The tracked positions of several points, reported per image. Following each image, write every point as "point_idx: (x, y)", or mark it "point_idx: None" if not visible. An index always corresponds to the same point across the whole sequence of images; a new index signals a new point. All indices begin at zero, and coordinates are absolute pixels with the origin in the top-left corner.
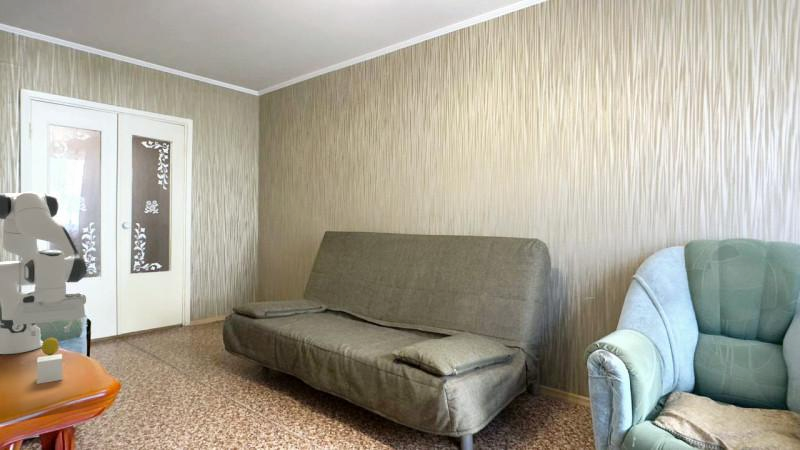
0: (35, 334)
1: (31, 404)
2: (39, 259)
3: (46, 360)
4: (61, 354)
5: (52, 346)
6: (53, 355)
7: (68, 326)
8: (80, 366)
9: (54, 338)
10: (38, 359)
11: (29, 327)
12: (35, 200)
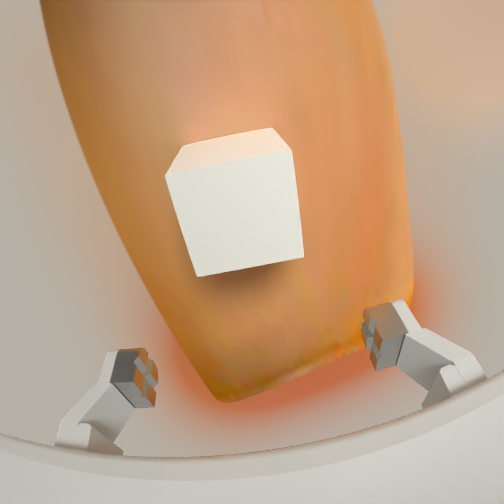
0: (156, 380)
1: (241, 368)
2: None
3: (234, 263)
4: (291, 167)
5: None
6: (248, 171)
7: (408, 369)
8: (333, 38)
9: None
10: (186, 229)
11: (111, 441)
12: None
